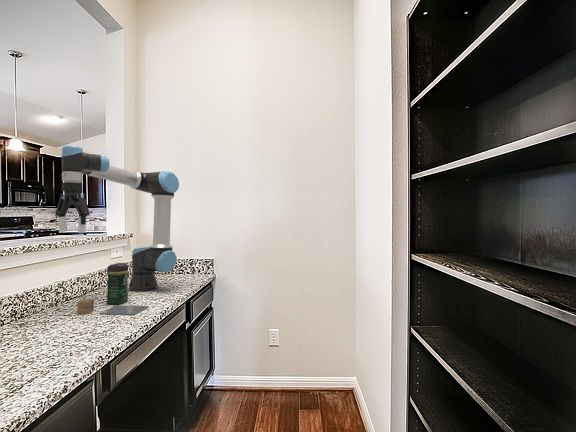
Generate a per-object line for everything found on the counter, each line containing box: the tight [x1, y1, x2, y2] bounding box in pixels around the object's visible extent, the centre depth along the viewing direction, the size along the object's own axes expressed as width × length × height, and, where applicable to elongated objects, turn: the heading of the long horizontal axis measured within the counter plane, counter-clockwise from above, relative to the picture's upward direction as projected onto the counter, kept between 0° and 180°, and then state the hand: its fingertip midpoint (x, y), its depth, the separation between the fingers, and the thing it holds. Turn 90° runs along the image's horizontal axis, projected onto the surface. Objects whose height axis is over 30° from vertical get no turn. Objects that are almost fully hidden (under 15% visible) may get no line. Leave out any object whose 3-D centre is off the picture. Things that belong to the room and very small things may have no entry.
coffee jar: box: [106, 262, 129, 306], centre depth 171 cm, size 10×8×19 cm
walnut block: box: [76, 298, 95, 316], centre depth 154 cm, size 5×5×5 cm
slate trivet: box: [99, 304, 150, 316], centre depth 156 cm, size 13×15×1 cm
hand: (72, 232), depth 156 cm, fingers open, 13 cm apart
